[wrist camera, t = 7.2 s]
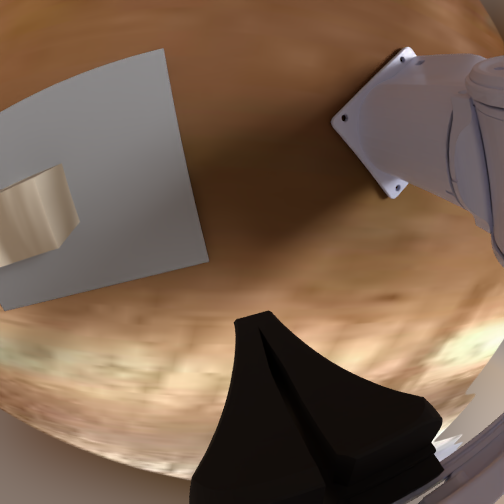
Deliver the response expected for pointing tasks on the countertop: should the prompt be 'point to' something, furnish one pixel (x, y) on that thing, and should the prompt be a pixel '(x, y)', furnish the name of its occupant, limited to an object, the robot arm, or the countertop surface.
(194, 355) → the countertop surface
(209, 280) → the countertop surface
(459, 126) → the robot arm
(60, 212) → the birch block
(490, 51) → the countertop surface
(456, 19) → the countertop surface
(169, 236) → the rubber mat
